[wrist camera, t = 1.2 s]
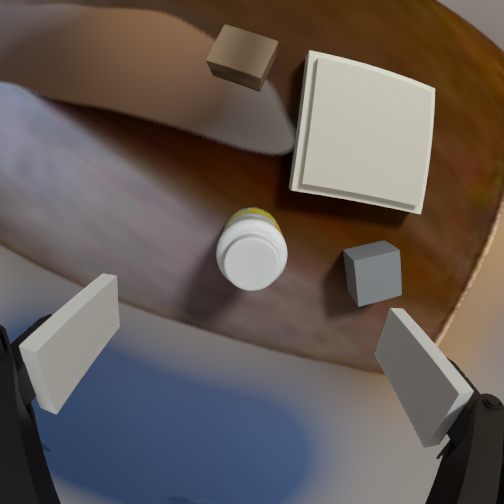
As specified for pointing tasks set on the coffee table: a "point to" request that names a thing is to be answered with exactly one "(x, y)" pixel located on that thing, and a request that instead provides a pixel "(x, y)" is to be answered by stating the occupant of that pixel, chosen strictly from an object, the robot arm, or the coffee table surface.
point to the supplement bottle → (251, 249)
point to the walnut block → (242, 57)
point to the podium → (362, 134)
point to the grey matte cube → (373, 272)
